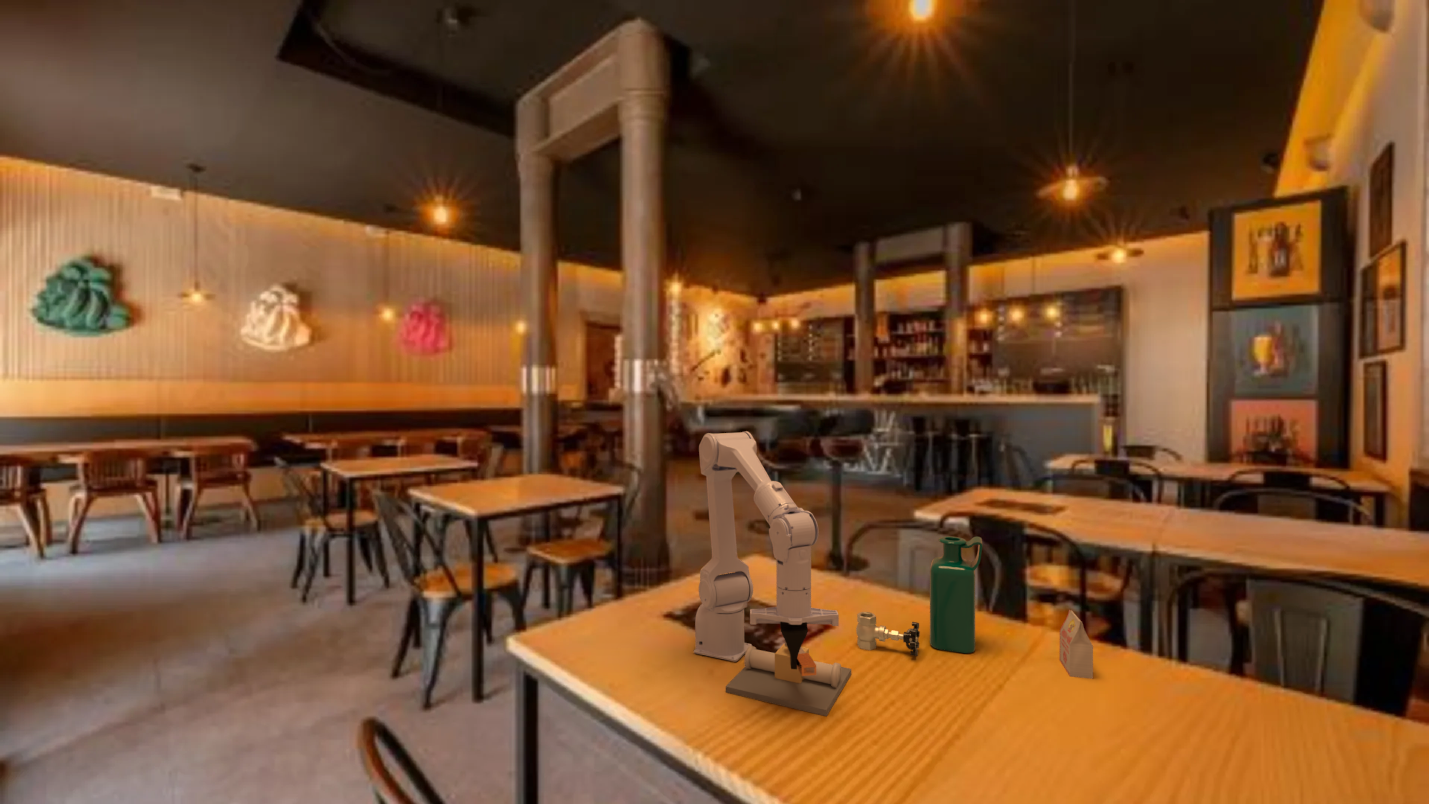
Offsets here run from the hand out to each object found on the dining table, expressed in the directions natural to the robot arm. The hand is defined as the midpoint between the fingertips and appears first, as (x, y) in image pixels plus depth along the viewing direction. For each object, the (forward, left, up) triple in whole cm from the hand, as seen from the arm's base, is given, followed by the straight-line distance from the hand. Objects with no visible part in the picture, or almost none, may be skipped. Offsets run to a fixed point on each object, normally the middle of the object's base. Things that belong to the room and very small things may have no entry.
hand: (793, 666), depth 102 cm
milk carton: (+43, +35, -7) cm, 56 cm away
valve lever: (0, +4, -1) cm, 4 cm away
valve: (+10, +28, -7) cm, 31 cm away
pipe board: (-3, +8, -6) cm, 11 cm away
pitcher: (+22, +37, -7) cm, 43 cm away
